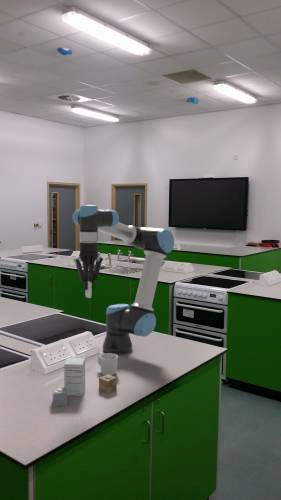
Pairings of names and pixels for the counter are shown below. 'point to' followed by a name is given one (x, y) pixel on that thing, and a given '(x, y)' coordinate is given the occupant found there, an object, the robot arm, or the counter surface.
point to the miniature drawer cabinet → (74, 376)
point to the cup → (108, 363)
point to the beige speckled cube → (107, 383)
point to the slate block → (59, 396)
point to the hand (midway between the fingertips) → (88, 297)
